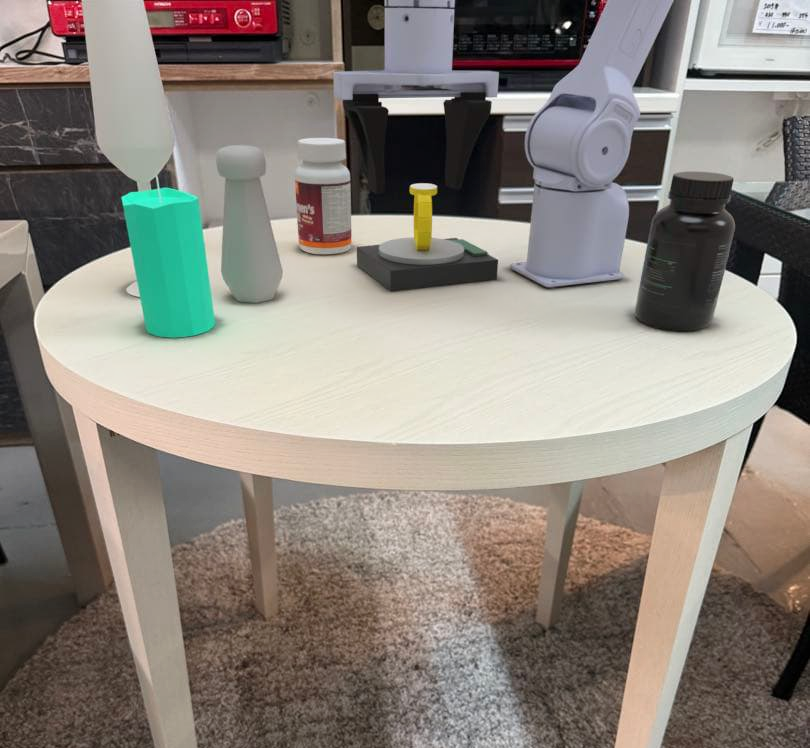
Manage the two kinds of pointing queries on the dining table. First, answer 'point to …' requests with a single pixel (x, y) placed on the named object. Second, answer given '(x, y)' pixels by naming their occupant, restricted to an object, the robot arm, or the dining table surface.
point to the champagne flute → (127, 91)
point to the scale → (426, 263)
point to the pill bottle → (323, 197)
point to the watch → (423, 214)
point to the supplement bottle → (687, 253)
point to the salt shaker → (247, 227)
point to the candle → (169, 261)
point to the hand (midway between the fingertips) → (415, 189)
